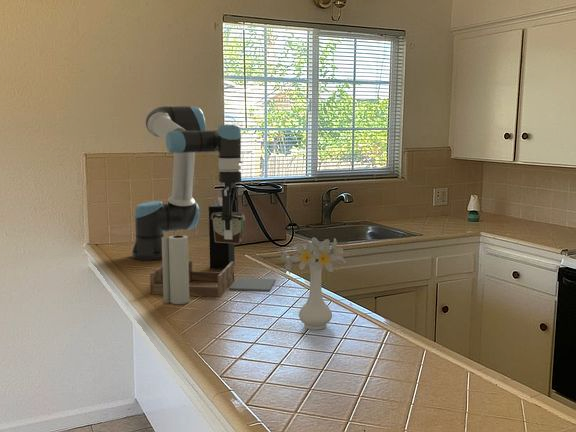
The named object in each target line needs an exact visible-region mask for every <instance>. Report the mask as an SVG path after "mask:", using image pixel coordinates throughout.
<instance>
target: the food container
mask: <svg viewBox="0 0 576 432" xmlns="http://www.w3.org/2000/svg"><path fill="white" fill-rule="evenodd" d="M221 218H222V212H216V213H212V215H211V219H212V220H213V229H214V238H215V242H219V243H233V244H234V245H236V244H237V245H241V244H242V238H243V237H242V236H243V225H244V223H243V222H244V221H246V217H245V215H244V213H243V212H240V211H239V212H232V217H231V218H232V219H231V220H232V229H233V239H224V220H221Z"/></svg>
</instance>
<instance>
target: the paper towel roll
mask: <svg viewBox="0 0 576 432" xmlns="http://www.w3.org/2000/svg"><path fill="white" fill-rule="evenodd" d="M161 261H162V262H161V263H162V264H161V266H163V294H162V295H163V303H168V302H170V303H171V304H174V305H184V304H188V303H190V295H189V286H190V282H189V262H188V261H189V236H188V235H180V234H179V235H170V236H169V235H168V236H164V237H163V238H162V259H161Z"/></svg>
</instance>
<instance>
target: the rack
mask: <svg viewBox="0 0 576 432" xmlns="http://www.w3.org/2000/svg"><path fill="white" fill-rule="evenodd" d="M188 262H189V283H190V282H192V281H205V282H206V281H210V282H212V281H213V282H217V286H213V285H212V286H210V285H208V286H207V285H189V296H196V297H197V296H199V297H200V296H201V297H202V296H203V297H222V296H223V295H224V293H225V292H226V291H227V290H229V288H230V287H231V286H232V284H233V283H234V282H235V265H234V262H230V263H229V264H228V265H227V267H226V268H225V269H222V270H221V271H196V270H193V260H190V259H188ZM149 279H150V284H149V285H150V287H149V288H150V294H151V295H163V266H162V265H160V266H159V267H157V268H156V269H153V271H152V272H149Z"/></svg>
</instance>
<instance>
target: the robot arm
mask: <svg viewBox="0 0 576 432" xmlns="http://www.w3.org/2000/svg"><path fill="white" fill-rule="evenodd" d="M145 127H146V129H147V131H148V132H149V134H150V135H152V136H154V137H156V138H161V140H162V141H163V140H164V141H165V145H166V149H167V152H169V153H171V154H173V166H172V167H173V169H172V186H171V187H172V189H171V196H169V197H168V199H167V203H163V201H161V200H152V201H146V202H142V203H139V204H137V205H136V206H135V208H134V225H135V230H134V231H135V241H134V244H133V248H132V250H131V252H132V253H131V258H132V259H134V260H139V261H154V260H155V261H156V260H162V238H163V237H165V235H164V234H165V232H170V231H171V232H174V231H187V230H192V229H194V228H196V226H197V225H198V223H199V221H200V206H199V204H198V202H196V199H195V198H194V197H193V189H194V175H195V174H194V172H195V159H196V153H218V170H219V172H218V181H219V183H224V188H223V189H222V190H221V196H222V197H221V198H222V218H221V220H224V239H233V229H232V220H231V219H232V218H231V217H232V212H239V213H240V207H239V206H240V205H239V186H238V185H237V183H241V182H242V172H241V171H240V170H241V169H242V164H243V161H242V156H241V155H242V151H241V150H242V147H241V146H242V145H241V143H242V133H241V127H240V125H238V124H220V125H219V126H218V128H217V129H216V130H207V127H206V118H205V115H204V112H203V111H202V109H201V108H200V107H197V106H190V105H188V106H186V105H185V106H167V105H166V106H158V107H157V108H154V109H152V110H151V111H150V112H149V113H148V115H146V118H145Z"/></svg>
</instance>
